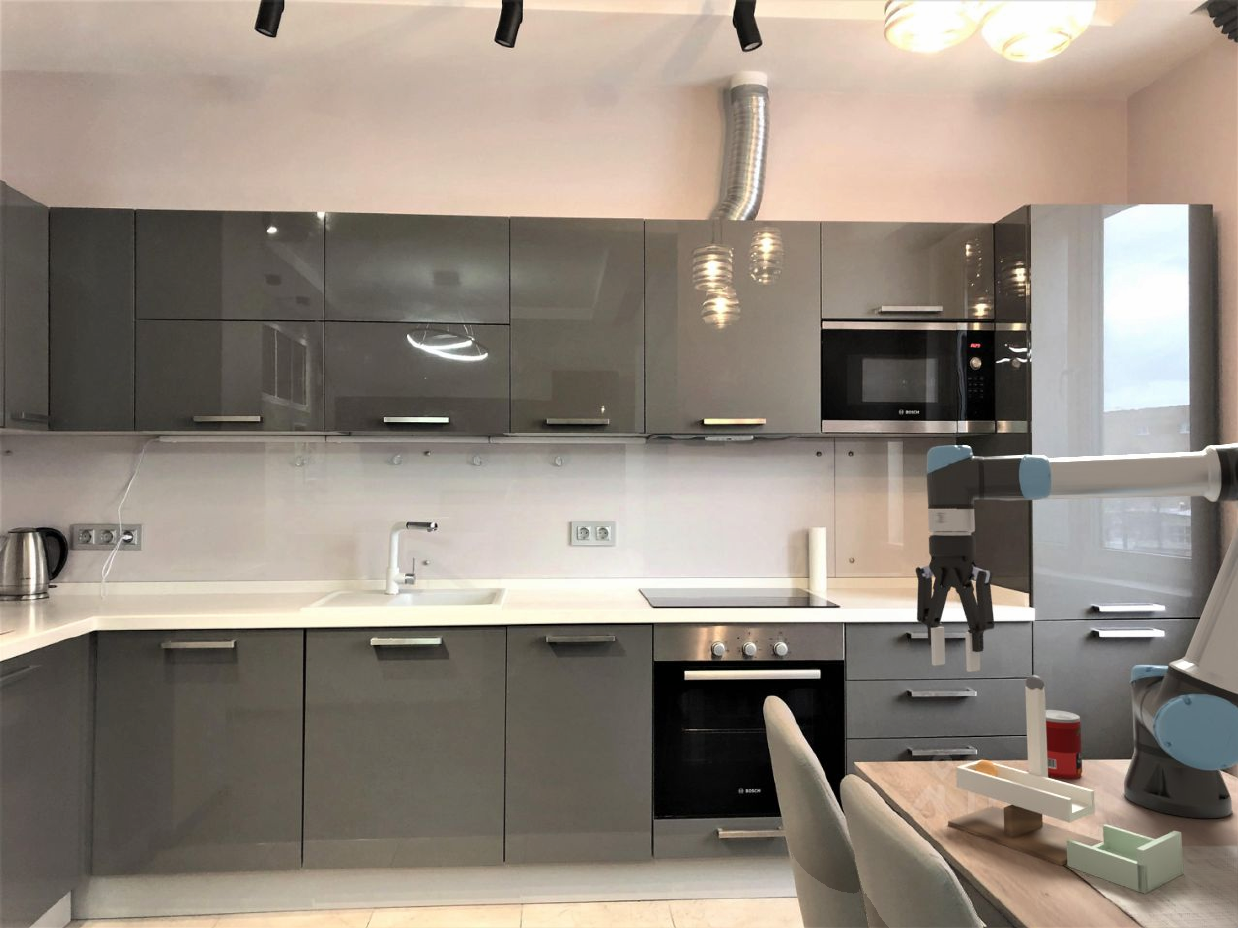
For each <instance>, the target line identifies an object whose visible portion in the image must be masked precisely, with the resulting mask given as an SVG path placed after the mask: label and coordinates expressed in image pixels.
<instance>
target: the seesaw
mask: <svg viewBox="0 0 1238 928" xmlns="http://www.w3.org/2000/svg"><path fill="white" fill-rule="evenodd" d="M1024 688H1025V689H1024V690H1025V714H1026V715H1025V716H1026V742H1027V767H1028V768H1027V769H1028V771H1024V770H1021V769H1017V768H1014V767H1011V766H1006V765H1003V764H999V763H995V762H992V763H993V764H994V765H995V767H996V769H997V775H996V777H995V776H991V775H988V774H985V773H981V772H978V771H975V767H976V764H977V763H978V762H979V761H981V760H982V759H979V760H976V761H972V762H968V763H965V764H961V765H959V766H958V765H957V766H956V767H955V768H956V769H955V771H956V772H955V773H956V774H955V777H956V788H959V789H961V790H965V791H968V792H969V793H970V792H971V793H974V794H978V795H981V796H984V797H986V798H990V799H993V800H996V801H1000V802H1003V803H1005V804H1009V805H1015V806H1018V807H1021V808H1024V809H1028V810H1031V811H1034V812H1037V813H1040V814H1042V816H1043V815H1044V816H1047V817H1050V818H1053V819H1056V820H1058V821H1063V822H1066V823H1073V822H1075V821H1079V820H1080V819H1083V818H1084V817H1085V818H1086V817H1087V816H1090V815H1092V814H1095V812H1096V808H1095V807H1096V804H1095V790H1093V789H1090V788H1086V787H1083V786H1079V785H1077V784H1072V783H1069V782H1065V781H1061V780H1057V779H1054V778H1051V777H1050V778H1049V776H1048V764H1047V737H1046V711H1045V710H1046V691H1045V689H1046V688H1045V682H1044V680H1043V678H1041V676H1038V675H1034V674H1032V675H1029V676H1028V677H1027V678H1026V679H1025V687H1024Z"/></svg>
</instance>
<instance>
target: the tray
mask: <svg viewBox="0 0 1238 928" xmlns="http://www.w3.org/2000/svg"><path fill="white" fill-rule="evenodd" d="M1102 835H1103V836H1102V838H1103V842H1101V843H1099V844H1096V845H1094V846H1092V847H1091V846H1088V845H1085V844H1082V843H1079V842H1076V841H1073V840H1070V839H1069V840H1067V864H1066V865H1067V867H1069V868H1072V869H1074V868H1075V870H1076V871H1077V870H1078V871H1080V872H1083V873H1086V874H1088V875H1092V876H1094V877H1096V878H1099V877H1100V879H1102V878H1103V879H1102V880H1105V881H1107V882H1110V881H1111V883H1113V884H1116V885H1119V886H1122V887H1124V886H1125V888H1128V889H1130V890H1133V891H1136V892H1139V893H1141V894H1143V895H1144V894H1145V895H1146V894H1148V893H1150V892H1151V891H1154V890H1156V889H1157V888H1159V887H1160V886H1163V885H1165V884H1167V883H1168V882H1170V881H1172V880H1173V879H1175V878H1177V877H1179V876H1181V875H1183V874H1184V866H1183V865H1184V864H1183V844H1182V843H1183V842H1182V839H1183V838H1182V832H1181V831H1178V830H1173V831H1170V832H1169V833H1167V834H1165V835H1162V836H1160V837H1158V838H1152V837H1150V836H1146V835H1144V834H1143V835H1142V834H1139V833H1135V832H1132V831H1129V830H1126V829H1124V828H1123V829H1122V828H1119V827H1117V826H1114V825H1110V824H1107V823H1105V824H1103V825H1102Z"/></svg>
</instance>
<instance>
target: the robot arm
mask: <svg viewBox="0 0 1238 928" xmlns="http://www.w3.org/2000/svg"><path fill="white" fill-rule="evenodd" d="M926 487H927V489H926V491H927V505H928V506H927V515H928V516H927V517H928V519H927V521H928V531H929V532H930V533H932V534H931V535H929V537H928V554H929V555H930V562H929V564H928V565H926V566H919V567H918V566H917V567H915V573H916V577H917V601H916V602H917V607H916V609H917V610H916V620H917V622H918V623H923V624H924V625H925V626H926V628H927V643H928V645H929V646H931V665H932V666H935V667H937V666H942V665H946V651H945V650H946V647H945V646H946V645H945V643H946V642H945V641H946V640H945V627H944V626H943V623H941V622H942V621H941V620H942V617H943V613H944V609H945V605H946V603H947V602H946V601H947V598H948V593H949V592H950V591H951V589H955V592H956V594H958V596H959V599H960V602H961V606H962V609H963V612H964V615H965V618H966V619H965V620H966V622H967V625H968V628H969V629H968V630H967V631H966V632H965V657H966V658H965V659H966V660H965V663H966V672H969V673H972V672H979V671H981V654H980V653H981V652H983V651H984V633H985V632H986V631H989V630H993V629H995V618H994V607H993V599H992V589H991V583H992V578H993V575H994V574H993V572H992V571H991V570H989V569H987V570H984V569H982V568H979V567H978V566H977V563H976V561H975V555H976V537H975V536H974V535H972V533H974V532H976V531H975V530H976V525H975V524H976V522H975V520H976V519H975V504H974V503H975V502H974V501H975V500H981V501H983V500H999V501H1001V502H1014V501H1038V500H1070V499H1071V500H1073V499H1074V500H1077V499H1079V500H1080V499H1117V498H1119V499H1120V498H1123V499H1125V498H1127V499H1128V498H1162V497H1163V498H1164V497H1165V498H1166V497H1172V498H1173V497H1174V498H1175V497H1204V498H1206V499H1207V500H1208V501H1210V502H1216V503H1217V502H1231V503H1232V502H1233V503H1234V505H1235V507H1236V509H1237V510H1238V442H1236V443H1229V444H1221V445H1215V444H1214V445H1207V446H1206V447H1205V448H1203V450H1201V451H1193V452H1174V453H1173V452H1172V453H1171V452H1169V453H1149V454H1147V453H1146V454H1143V453H1142V454H1126V455H1125V454H1123V455H1122V454H1121V455H1102V456H1101V455H1098V456H1078V457H1075V456H1074V457H1073V456H1072V457H1054V458H1053V457H1052V458H1051V457H1050V458H1049V457H1047V456H1045V455H1040V454H1039V455H1038V454H1035V455H1034V454H1021V455H1020V454H1019V455H999V456H998V455H996V456H978V455H977V456H976V455H975V456H974V453H973V449H972V447H971V446H969V445H964V444H963V445H960V444H959V445H937V446H933V447H931V448H930V449H928V451H927V453H926ZM933 576H934V581H933V578H932V577H933ZM972 579H973V580H974V581H975V586H974V585H973V581H972ZM974 592H975V593H974ZM975 594H976V595H975ZM1197 623H1198V624H1197V625H1196V628H1195V631H1194V633H1193V635H1192V637H1191V640H1190V643H1189V645H1188V648H1187V650H1186V653H1185V656H1183V657H1182V658H1181V659H1177V660H1174V661H1171V662H1169V664H1168V665H1157V664H1156V665H1152V664H1138V665H1137V664H1135V665H1134V666H1133V667H1132V668H1131V672H1130V675H1131V676H1130V680H1129V684H1130V686H1131V707H1132V710H1131V711H1132V727H1133V730H1132V731H1133V754H1132V757H1131V760H1130V763H1129V766H1128V768H1127V772H1126V774H1125V777H1124V781H1123V790H1124V791H1123V792H1124V793H1123V794H1124V796H1125V798H1126V799H1127V800H1128V801H1130V802H1132V803H1134V804H1135V805H1138V806H1141V807H1142V808H1146V809H1148V810H1152V811H1155V812H1160V813H1162V814H1163V813H1164V814H1166V815H1167V814H1169V815H1173V816H1179V817H1184V818H1185V817H1186V818H1194V819H1195V818H1196V819H1220V818H1225V817H1228V816H1230V815H1231V814H1232V813H1233V808H1232V807H1233V805H1232V802H1233V801H1232V797H1231V794H1230V792H1229V789H1228V787H1227V785H1226V781H1225V779H1224V777H1223V774H1222V772H1221V770H1226V769H1228V768H1232V767H1233V766H1235V765H1237V764H1238V525H1237V526H1236V528H1235V531H1234V533H1233V535H1232V538H1231V541H1230V544H1229V546H1228V549H1227V551H1226V553H1225V555H1224V558H1223V561H1222V563H1221V566H1220V569H1219V571H1218V573H1217V576H1216V579H1215V581H1214V583H1213V586H1212V589H1211V591H1210V593H1209V596H1208V598H1207V601H1206V603H1205V606H1204V608H1203V611H1202V614H1201V616H1200V619H1199V621H1198V622H1197Z"/></svg>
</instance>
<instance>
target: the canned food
mask: <svg viewBox="0 0 1238 928" xmlns="http://www.w3.org/2000/svg"><path fill="white" fill-rule="evenodd" d="M1045 711H1046V737H1047V764H1048V777H1050V778H1053V779H1054V778H1057V779H1062V780H1064V779H1065V780H1073V779H1074V780H1075V779H1078V778H1080V777H1081V776H1082V774H1083V757H1082V755H1083V754H1082V729H1081V728H1082V727H1081V717H1080V715H1078V714H1076V713H1073V712H1069V711H1065V710H1058V709H1057V710H1056V709H1045Z"/></svg>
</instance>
